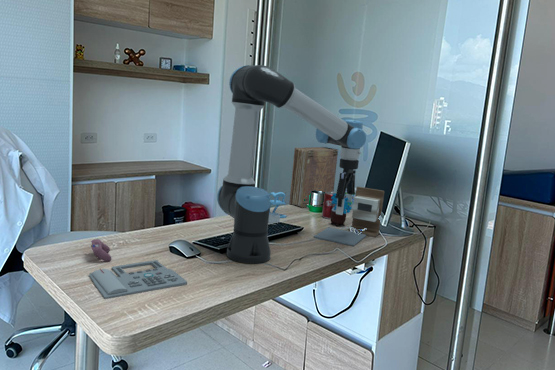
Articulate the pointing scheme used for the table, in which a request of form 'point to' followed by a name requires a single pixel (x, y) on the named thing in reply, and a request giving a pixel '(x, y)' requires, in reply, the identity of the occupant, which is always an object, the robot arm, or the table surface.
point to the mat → (340, 236)
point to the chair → (277, 201)
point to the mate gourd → (337, 218)
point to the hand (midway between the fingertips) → (343, 211)
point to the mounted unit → (367, 210)
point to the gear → (346, 204)
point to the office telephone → (135, 279)
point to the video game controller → (100, 250)
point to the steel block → (273, 218)
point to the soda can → (327, 205)
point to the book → (312, 173)
